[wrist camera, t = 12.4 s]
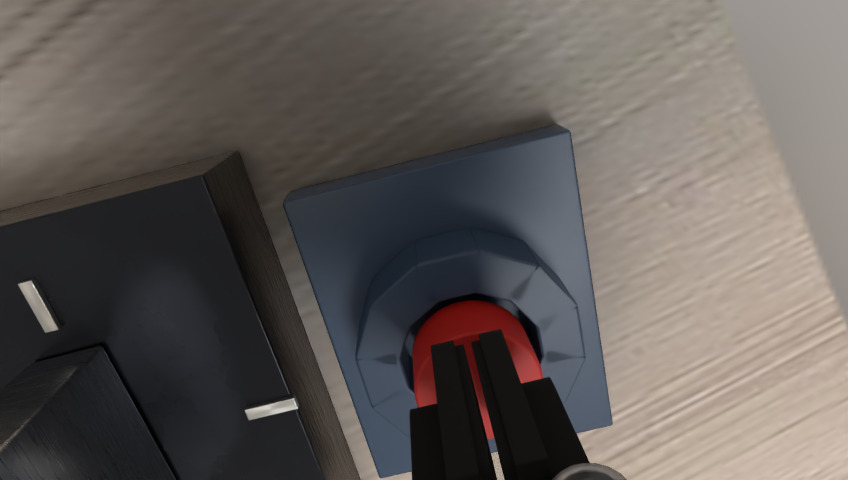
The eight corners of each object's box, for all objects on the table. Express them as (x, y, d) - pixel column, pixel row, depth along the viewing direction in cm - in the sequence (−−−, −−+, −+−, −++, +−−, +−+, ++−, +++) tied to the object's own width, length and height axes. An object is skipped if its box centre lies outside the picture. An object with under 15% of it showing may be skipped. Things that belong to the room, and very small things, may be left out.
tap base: (-96, 235, 16) (-211, 281, 13) (241, 149, 15) (204, 175, 12) (104, 551, 20) (54, 639, 17) (367, 490, 20) (362, 570, 17)
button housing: (289, 191, 16) (266, 223, 13) (558, 123, 15) (594, 141, 13) (380, 453, 19) (378, 524, 16) (600, 402, 19) (636, 466, 16)
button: (399, 314, 14) (399, 350, 13) (516, 286, 14) (532, 318, 13) (427, 410, 15) (431, 453, 14) (536, 384, 15) (553, 426, 14)
